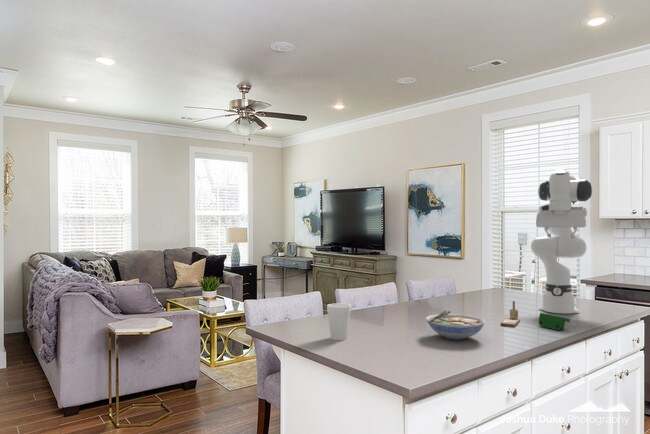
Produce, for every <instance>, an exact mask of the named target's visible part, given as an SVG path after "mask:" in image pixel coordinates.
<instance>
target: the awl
mask: <svg viewBox="0 0 650 434" xmlns="http://www.w3.org/2000/svg"><path fill="white" fill-rule="evenodd" d="M509 318H511V319H519V309H516V300H512V308H510V309H509Z"/></svg>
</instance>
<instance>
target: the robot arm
mask: <svg viewBox="0 0 650 434" xmlns="http://www.w3.org/2000/svg"><path fill="white" fill-rule="evenodd" d="M537 195H538V198H539V199H540V200H541V201H543V202H544V201H546V202H548V201H549V203H547V204H544V205H540V206H539V207H538V210H539V212H537V214H536V221H535V225H536V227H537V228H544V232H545V233H546V235H547V236H545V235H544V236H539V237H538V236H537V237H535V238H533V240H532V241H531V244H530V250H531V252H532V254H533V255H534V256H535V257H537V258H538V259H539V260H540V261H541V262H542V264H543V266H544V269H545V277H546V283H545V292H544V293H542V305H541V306H540V307H538V311H539V310H540V311H544V312H548V313H554V314H580V310H578V309H577V308H576V302H575V296H574V295H573V293H572V284H571V270H570V268H568V266H566V265H564V264H562V263H560V262H558V260H557V259H558V258H561V259H562V258H563V259H566V258H567V259H574V258H575V259H576V258H580V257H581V258H582V257H583V256H584V255H585V254H586V251H587V244H586V241H585V240H584V239H583V238H581V237H579V236H577V234H576V233H577V231H578V228H586V226H587V220H586V219H587V218H586V217H587V215H588V214H587V213H588V210H587V209H586V207H584V206H572V205H575V203H577V202H587V201H589V199H590V198H591V197H592V195H593V186H592V183H591V182H590V181H588V180H587V179H583V178H582V177H579V176H577V175H573V174H571V173H570V171H568V170H566V169H559V168H558V169H556V170H555V171H553V172H552V173H551V174H550V176H549V179H545V181H543V182H541V183H540V184H539V186H538V188H537ZM572 229H573V230H572Z"/></svg>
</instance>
